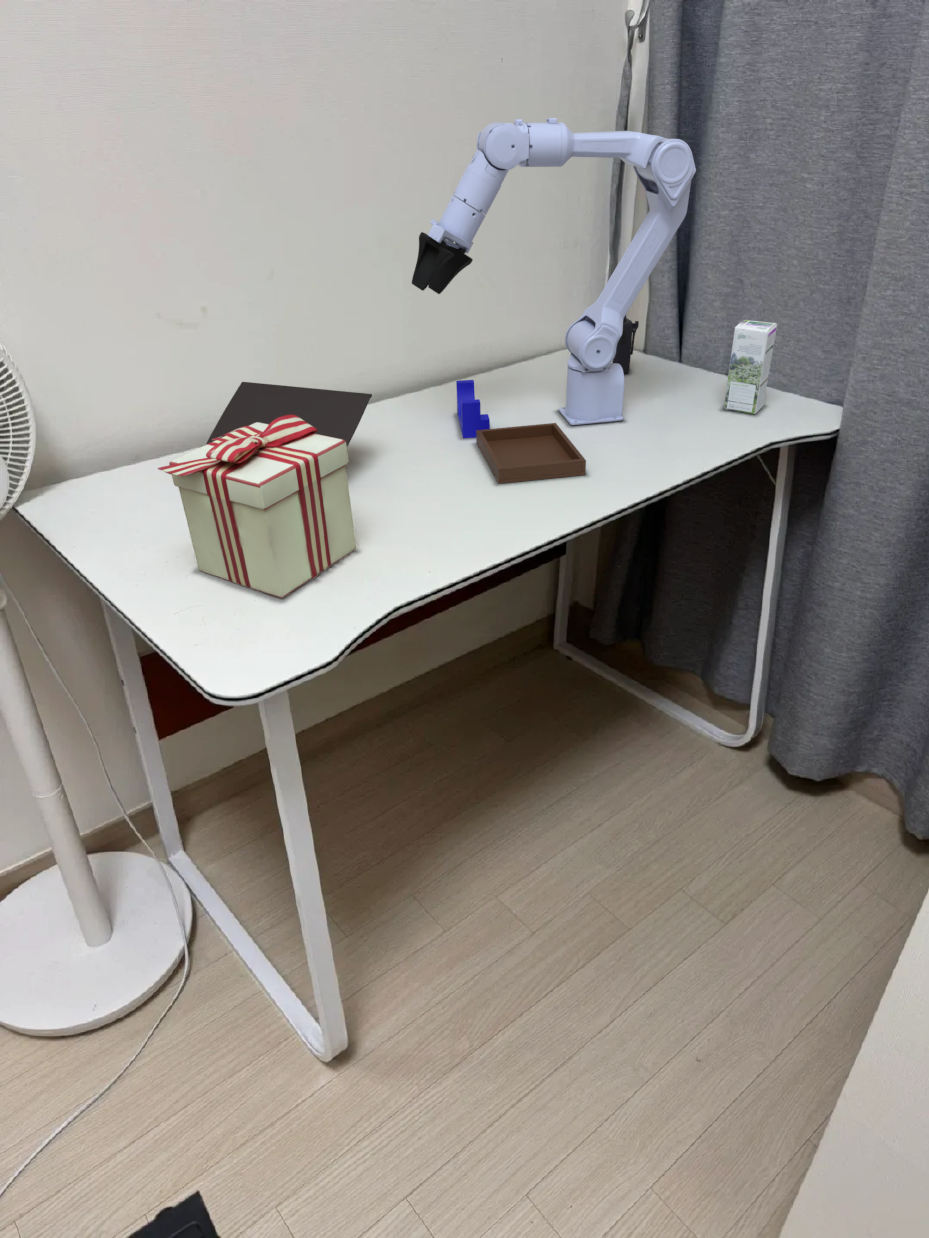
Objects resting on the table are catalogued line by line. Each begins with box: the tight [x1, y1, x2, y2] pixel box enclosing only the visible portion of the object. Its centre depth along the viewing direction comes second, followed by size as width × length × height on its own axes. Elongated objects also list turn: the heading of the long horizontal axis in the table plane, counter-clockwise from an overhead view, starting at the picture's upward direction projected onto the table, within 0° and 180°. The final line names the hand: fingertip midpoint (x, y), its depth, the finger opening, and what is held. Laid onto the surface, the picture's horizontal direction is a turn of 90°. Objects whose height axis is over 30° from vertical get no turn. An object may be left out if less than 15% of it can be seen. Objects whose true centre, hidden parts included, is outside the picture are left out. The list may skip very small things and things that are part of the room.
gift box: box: [157, 415, 357, 599], centre depth 104 cm, size 17×18×17 cm
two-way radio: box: [611, 314, 640, 375], centre depth 167 cm, size 6×4×15 cm
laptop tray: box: [205, 381, 373, 448], centre depth 130 cm, size 23×23×9 cm
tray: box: [475, 422, 587, 485], centre depth 134 cm, size 13×16×2 cm
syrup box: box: [723, 319, 778, 415], centre depth 148 cm, size 6×6×14 cm
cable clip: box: [455, 379, 491, 439], centre depth 146 cm, size 12×4×6 cm, turn 5°
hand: (425, 289), depth 134 cm, fingers open, 7 cm apart
